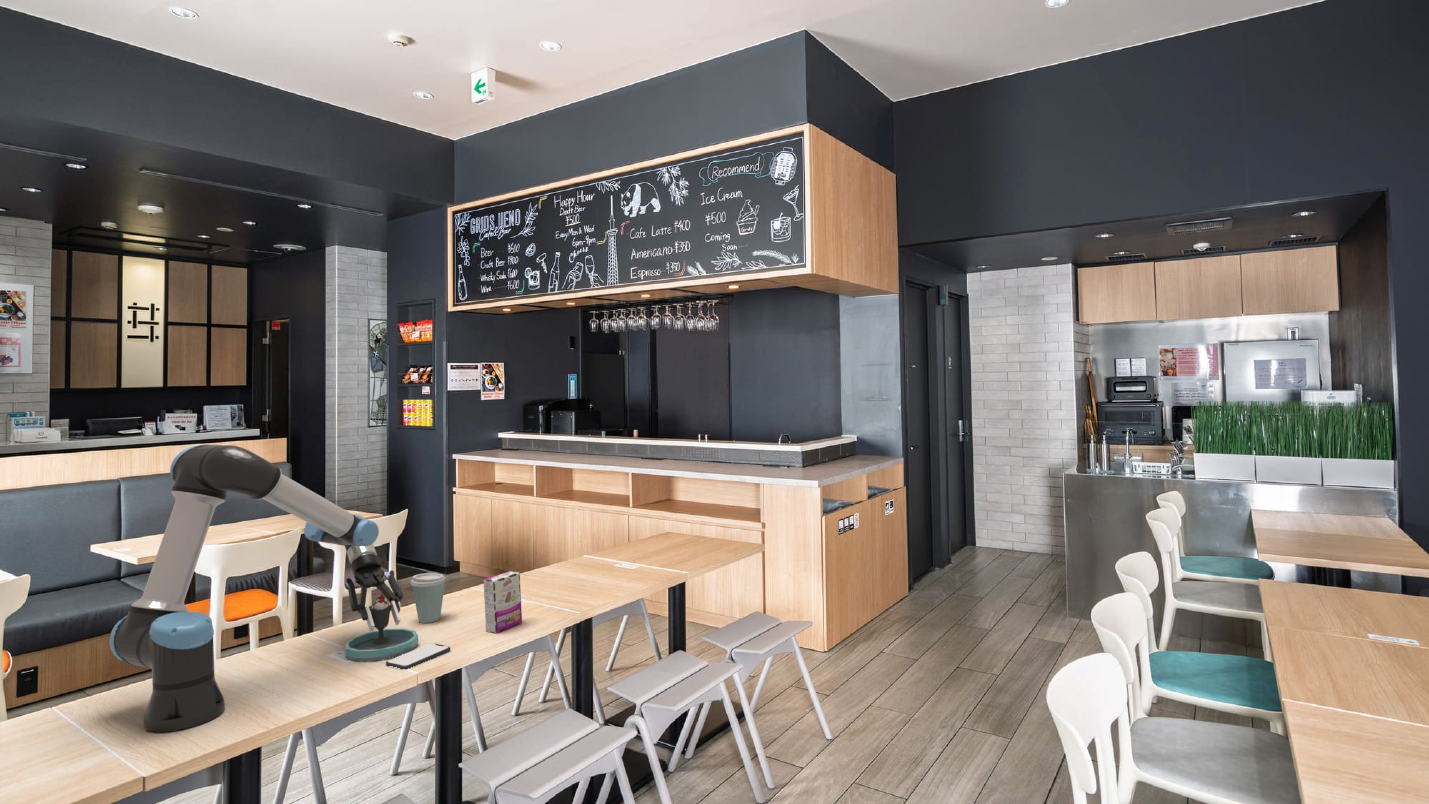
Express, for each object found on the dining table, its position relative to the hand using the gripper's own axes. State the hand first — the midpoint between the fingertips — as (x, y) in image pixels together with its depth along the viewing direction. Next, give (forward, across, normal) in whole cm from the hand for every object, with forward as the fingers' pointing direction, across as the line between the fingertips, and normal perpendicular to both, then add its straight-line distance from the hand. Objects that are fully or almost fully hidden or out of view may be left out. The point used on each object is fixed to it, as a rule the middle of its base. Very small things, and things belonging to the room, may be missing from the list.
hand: (385, 625), depth 209 cm
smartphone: (+14, -5, +2) cm, 15 cm away
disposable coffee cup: (-9, -21, -20) cm, 30 cm away
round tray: (+3, 0, -8) cm, 9 cm away
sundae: (+1, 0, -6) cm, 7 cm away
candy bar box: (+9, -34, -2) cm, 35 cm away
